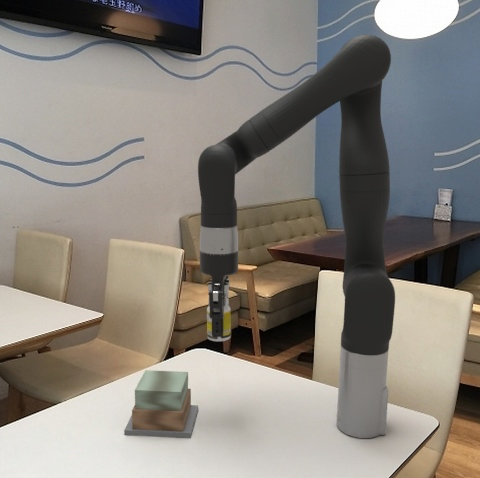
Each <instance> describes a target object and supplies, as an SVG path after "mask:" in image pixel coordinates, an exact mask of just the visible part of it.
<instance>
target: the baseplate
mask: <svg viewBox="0 0 480 478" xmlns="http://www.w3.org/2000/svg"><path fill="white" fill-rule="evenodd" d="M198 412H199V405H196V404H191V407H190V411H189V414H188V417H187V421H186V424H185V427H184V431H162V430H140V429H132V415H131V416H130V418H129V419H128V421H127V424H126V426H125V427H124V430H123V431H124V433H123V434H124V435H125V436H138V437H139V436H141V437H160V438H161V437H164V438H167V437H168V438H185V439H186V438H187V439H190V438H191V437H192V435H193V429H194V426H195V423H196V418H197V415H198Z"/></svg>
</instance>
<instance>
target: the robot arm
mask: <svg viewBox="0 0 480 478" xmlns="http://www.w3.org/2000/svg"><path fill="white" fill-rule="evenodd" d="M391 63H392V55H391V49H390V47H389V46H388V44H387V43H386V42H385V41H384V39H382V37H381V38H380V37H378V36H376V35H375V34H374V35H373V34H367V33H366V34H359V35H357V36H356V35H355V36H353V37H352V38H350V39H349V40H348V41H346V42H345V43H344V44H343V46H342V47H340V49H339V51H338V52H336V54H335V55H334V56H333V57H332V58H331V59H330V60H328V62H327V63H326V64H324V65H323V67H321V68H320V69H319V70H318V71H316V73H314V74H313V75H312V76H310V77H309V78H308V79H306V80H304V82H302V83H301V84H299V85H298V86H296V87H295V88H293V89H292V90H290V91H289V92H288V93H286V94H284V95H283V96H282V97H280V98H278V99H276V100H275V101H274V102H272V103H270V104H269V105H267V106H266V107H265V108H262V110H260V111H259V112H257V113H256V114H254V115H253V116H251V117H250V118H249V119H248V120H246V121H245V122H244V123H243V124H241V125H240V126H239V128H238V129H237V130H235V131H234V132H233V133H231V134H230V135H228V136H227V137H225V138H223V139H222V140H220V141H219V142H217V143H216V144H213V145H209V146H208V147H206V148H204V150H202V152H201V153H200V156H199V158H198V163H197V177H198V187H199V193H200V200H201V201H200V202H201V203H200V231H199V271H200V272H201V273H202V274H203V275H207V276H208V275H209V276H210V277H211V278H210V279H209V282H208V283H207V291H208V306H210V314H209V316H210V318H212V336H214V337H222V336H223V319H224V307H225V306H226V305H227V296H228V298H229V297H230V295H229V288H230V284H231V283H230V282H231V281H230V279H229V276H232V275H234V274H237V273H238V271H239V232H238V204H237V200H236V197H235V194H236V193H235V191H236V189H235V187H236V175H237V174H238V173H239V172H240V171H242V170H243V169H245V168H246V167H248V166H249V165H250V164H251V163H252V162H253V161H255V160H256V159H258V158H260V157H262V156H264V155H266V154H267V153H269V152H270V151H272V150H273V149H275V148H276V147H278V146H279V145H281V144H282V143H284V142H285V141H287V140H288V139H289V138H290V137H292V136H293V135H295V134H296V133H297V132H299V131H300V130H301V129H302V128H304V127H305V126H306V125H308V123H310V122H311V121H312V120H314V119H315V118H316V117H317V116H319V115H321V114H322V113H324V112H325V111H327V109H329V108H331V107H332V106H334V105H336V104H337V103H339V105H340V117H341V126H340V138H339V139H340V140H339V154H338V155H339V157H338V159H339V166H338V167H339V168H338V175H339V177H338V179H339V196H340V197H339V198H340V208H341V216H342V224H343V231H344V238H345V239H344V240H345V253H344V267H343V279H342V293H343V295H344V307H343V308H344V310H343V311H344V312H343V325H342V331H341V335H340V350H339V351H340V355H339V370H338V371H339V372H338V389H337V390H338V391H337V392H338V394H337V408H336V409H337V410H336V427H337V428H338V429H339V431H340V432H342V433H343V434H345V435H347V436H350V437H353V438H360V439H371V438H376V437H378V436H386V431H387V429H386V428H387V416H388V402H389V389H388V387H387V386H388V385H387V377H388V376H387V375H388V361H389V348H390V342H391V338H392V336H393V329H394V328H393V327H394V317H395V307H396V305H395V304H396V291H395V287H394V285H393V282H392V280H391V279H390V278H389V276H388V273H387V269H386V259H385V249H384V234H385V233H384V232H385V228H386V222H387V218H388V213H389V206H390V195H391V194H390V193H391V181H390V180H391V178H390V174H391V173H390V160H389V153H388V148H387V143H386V137H385V134H384V130H383V129H384V128H383V125H382V118H381V117H382V116H381V112H382V111H381V108H382V107H381V103H382V86H383V80H384V79H385V78H386V77H387V74H388V73H389V70H390V67H391ZM223 299H224V301H223ZM214 309H220V312H214Z"/></svg>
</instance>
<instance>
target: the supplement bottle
mask: <svg viewBox="0 0 480 478" xmlns="http://www.w3.org/2000/svg"><path fill="white" fill-rule="evenodd" d="M223 301H224V299H223ZM229 301H230V300H229V297H228V296H227V305H226V306H225V307H224V319H223V336H222V337H214V336H212V318H210V316H209V314H210V306H209V305H208V306H207V307H206V336H207V339H208V340H209V341H212V342H225V341H228V340H229V339H231V335H232V333H231V331H232V323H231V322H232V321H231V319H232V318H231V316H232V315H231V313H232V312H231V311H232V310H231V307H230V305H229V304H230V303H229ZM214 312H220V309H214Z"/></svg>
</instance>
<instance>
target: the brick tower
mask: <svg viewBox="0 0 480 478" xmlns="http://www.w3.org/2000/svg"><path fill="white" fill-rule="evenodd" d="M191 391H192V389H191V388H189V371H177V370H176V371H175V370H172V371H171V370H151V369H150V370H149V369H148V370H144V372H143V374H142V376H141V378H140V380H139V381H138V383H137V385H136V387H135V389H134V406H133V407H132V410H131V416H132V429H140V430H162V431H184V427H185V424H186V421H187V417H188V414H189V411H190V407H191V405H192V400H191V399H192V397H191V396H192V392H191Z"/></svg>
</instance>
